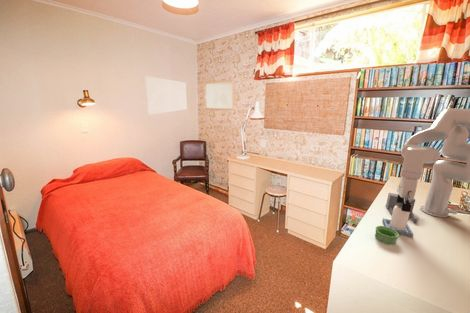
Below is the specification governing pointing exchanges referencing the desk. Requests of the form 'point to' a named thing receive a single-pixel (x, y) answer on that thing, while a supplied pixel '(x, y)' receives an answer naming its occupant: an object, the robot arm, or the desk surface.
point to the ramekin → (386, 235)
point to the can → (399, 218)
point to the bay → (393, 201)
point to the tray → (404, 233)
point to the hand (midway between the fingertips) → (402, 206)
